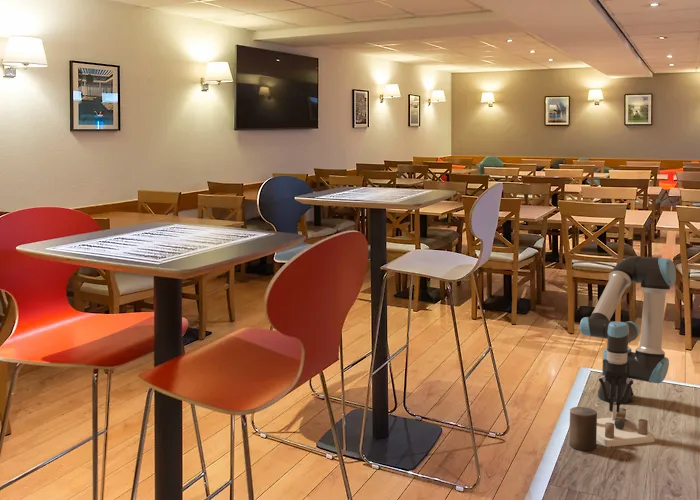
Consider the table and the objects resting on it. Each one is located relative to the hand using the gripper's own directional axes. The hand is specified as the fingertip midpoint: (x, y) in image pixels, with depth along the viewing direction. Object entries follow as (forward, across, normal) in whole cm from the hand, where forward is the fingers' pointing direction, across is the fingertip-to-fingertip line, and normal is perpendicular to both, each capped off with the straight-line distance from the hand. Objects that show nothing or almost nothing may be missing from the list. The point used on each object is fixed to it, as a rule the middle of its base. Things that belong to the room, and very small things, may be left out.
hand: (613, 419), depth 259 cm
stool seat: (+5, 0, -3) cm, 6 cm away
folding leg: (+2, +3, +2) cm, 4 cm away
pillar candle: (+5, -12, -17) cm, 21 cm away
